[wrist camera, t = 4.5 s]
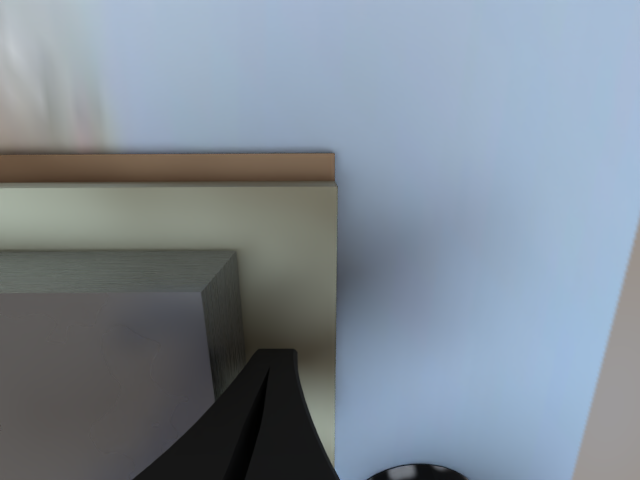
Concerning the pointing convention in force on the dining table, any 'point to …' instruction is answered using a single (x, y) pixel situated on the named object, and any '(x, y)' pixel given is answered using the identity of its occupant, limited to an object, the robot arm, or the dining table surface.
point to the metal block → (111, 356)
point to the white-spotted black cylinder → (419, 473)
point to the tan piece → (203, 235)
